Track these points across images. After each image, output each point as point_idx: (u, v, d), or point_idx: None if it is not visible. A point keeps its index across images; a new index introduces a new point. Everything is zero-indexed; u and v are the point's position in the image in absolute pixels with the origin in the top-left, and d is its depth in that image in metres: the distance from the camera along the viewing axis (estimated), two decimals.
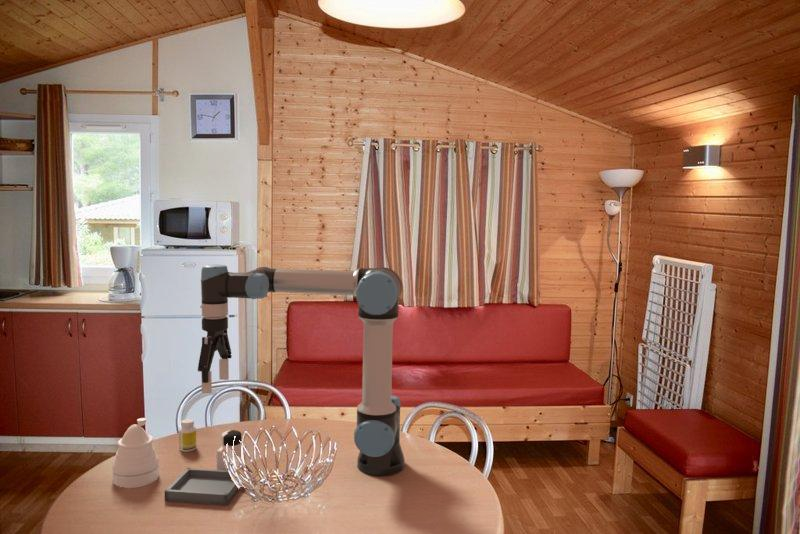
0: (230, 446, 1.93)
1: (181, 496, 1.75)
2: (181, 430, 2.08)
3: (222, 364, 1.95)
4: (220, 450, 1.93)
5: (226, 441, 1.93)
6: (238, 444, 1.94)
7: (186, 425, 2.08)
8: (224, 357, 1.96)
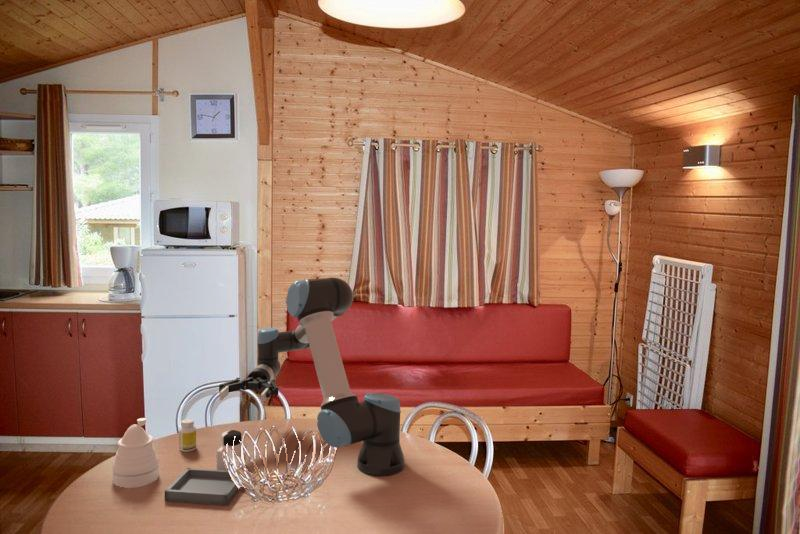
0: (230, 446, 1.93)
1: (181, 496, 1.75)
2: (181, 430, 2.08)
3: None
4: (220, 450, 1.93)
5: (226, 441, 1.93)
6: (238, 444, 1.94)
7: (186, 425, 2.08)
8: None
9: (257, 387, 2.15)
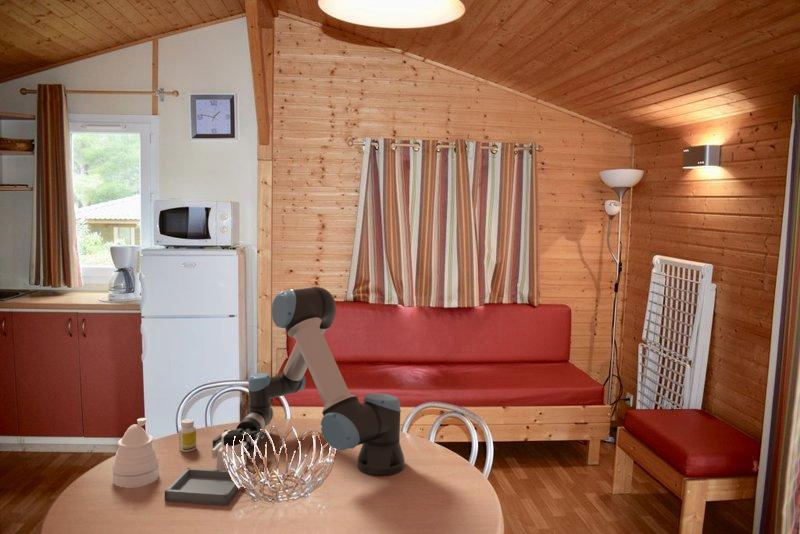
0: (230, 446, 1.93)
1: (181, 496, 1.75)
2: (181, 430, 2.08)
3: None
4: (220, 450, 1.93)
5: (226, 441, 1.93)
6: (238, 444, 1.94)
7: (186, 425, 2.08)
8: None
9: (246, 439, 2.04)
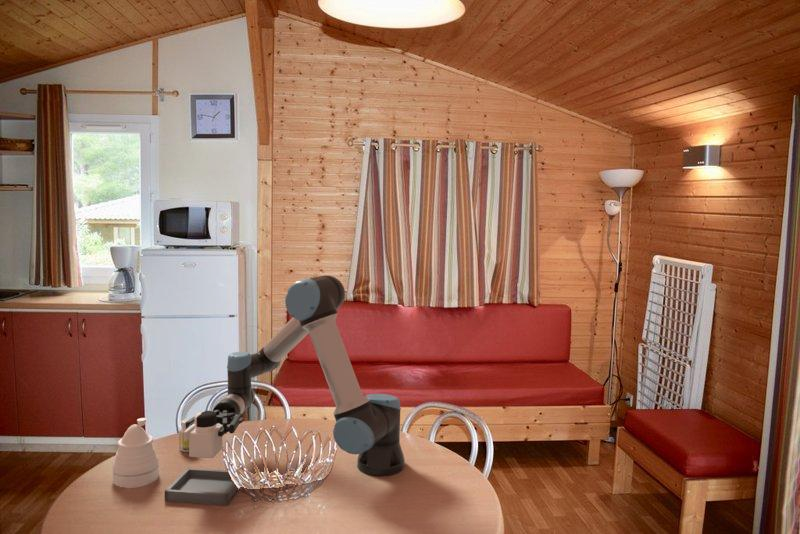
0: (204, 427, 1.77)
1: (181, 496, 1.75)
2: (181, 430, 2.08)
3: None
4: (193, 432, 1.77)
5: (199, 422, 1.77)
6: (213, 425, 1.78)
7: None
8: None
9: (223, 421, 1.89)
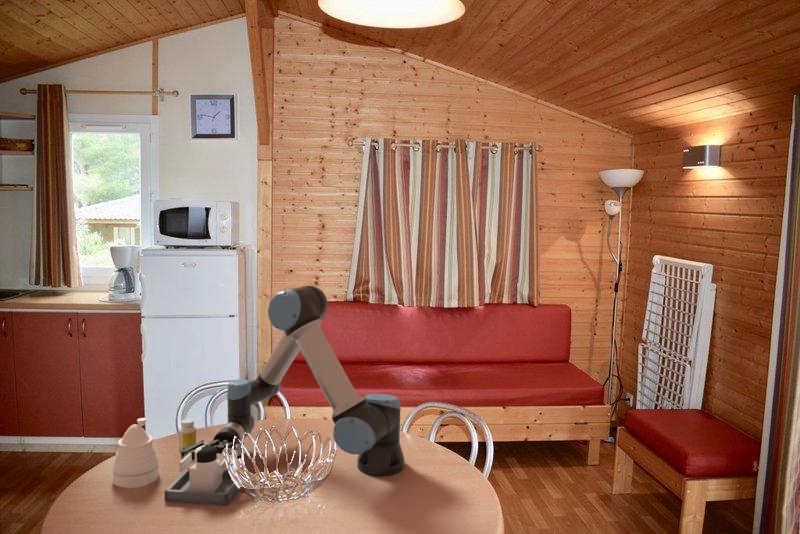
0: (204, 463, 1.78)
1: (181, 496, 1.75)
2: (181, 430, 2.08)
3: None
4: (193, 467, 1.78)
5: (200, 458, 1.78)
6: (213, 460, 1.79)
7: (186, 425, 2.08)
8: None
9: None
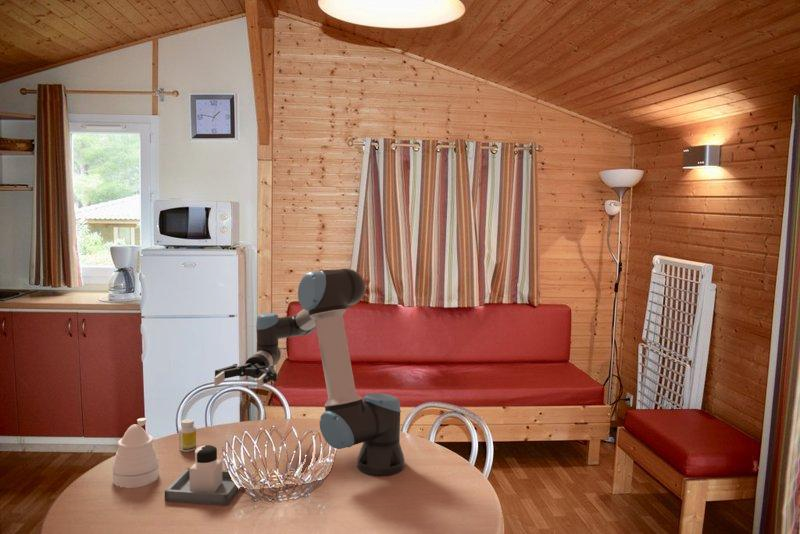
0: (204, 463, 1.78)
1: (181, 496, 1.75)
2: (181, 430, 2.08)
3: None
4: (193, 467, 1.78)
5: (200, 458, 1.78)
6: (213, 461, 1.79)
7: (186, 425, 2.08)
8: None
9: (255, 373, 2.05)
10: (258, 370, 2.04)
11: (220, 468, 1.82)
